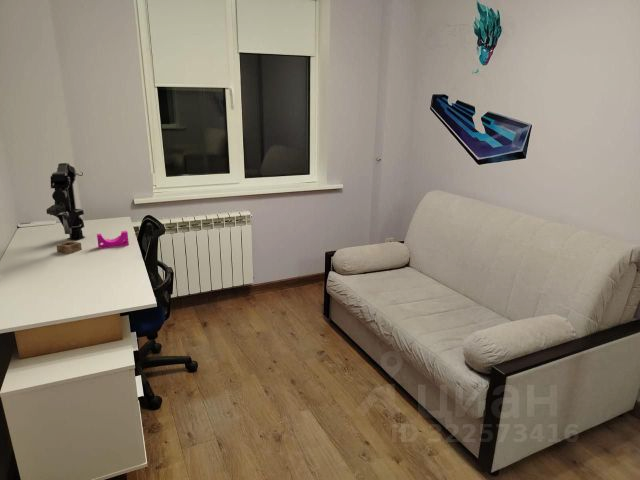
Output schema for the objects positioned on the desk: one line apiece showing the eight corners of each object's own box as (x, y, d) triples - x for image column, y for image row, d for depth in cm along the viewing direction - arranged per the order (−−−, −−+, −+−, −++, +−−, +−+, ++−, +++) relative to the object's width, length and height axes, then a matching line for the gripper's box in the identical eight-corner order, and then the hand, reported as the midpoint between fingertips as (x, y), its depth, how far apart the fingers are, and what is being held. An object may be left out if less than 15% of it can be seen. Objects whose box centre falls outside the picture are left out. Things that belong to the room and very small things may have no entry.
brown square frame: (57, 252, 231) (56, 245, 230) (70, 248, 239) (68, 241, 238) (69, 254, 229) (68, 246, 228) (81, 249, 236) (80, 242, 235)
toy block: (127, 242, 251) (126, 229, 249) (129, 245, 245) (127, 232, 243) (98, 246, 244) (96, 232, 242) (98, 249, 238) (97, 235, 236)
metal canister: (63, 233, 230) (60, 215, 227) (68, 232, 233) (65, 213, 230) (68, 234, 229) (65, 215, 226) (73, 232, 232) (70, 214, 229)
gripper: (34, 199, 221) (40, 229, 226) (64, 202, 216) (69, 233, 220) (53, 195, 231) (58, 224, 236) (82, 198, 226) (86, 227, 230)
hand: (67, 227), depth 230 cm, fingers closed on metal canister, 3 cm apart
